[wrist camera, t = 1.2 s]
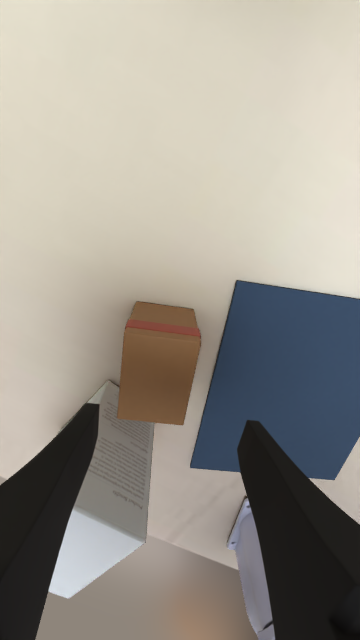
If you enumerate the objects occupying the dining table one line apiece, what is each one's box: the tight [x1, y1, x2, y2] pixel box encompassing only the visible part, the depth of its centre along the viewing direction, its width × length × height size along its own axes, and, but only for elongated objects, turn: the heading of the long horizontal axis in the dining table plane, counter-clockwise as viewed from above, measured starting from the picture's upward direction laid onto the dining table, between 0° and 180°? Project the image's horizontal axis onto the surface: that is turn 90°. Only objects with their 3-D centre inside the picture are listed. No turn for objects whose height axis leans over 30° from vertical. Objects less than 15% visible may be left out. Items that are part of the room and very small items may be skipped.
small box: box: [48, 381, 154, 598], centre depth 19 cm, size 8×6×10 cm
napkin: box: [190, 280, 360, 480], centre depth 24 cm, size 20×16×1 cm
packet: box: [117, 301, 201, 425], centre depth 19 cm, size 7×5×6 cm
